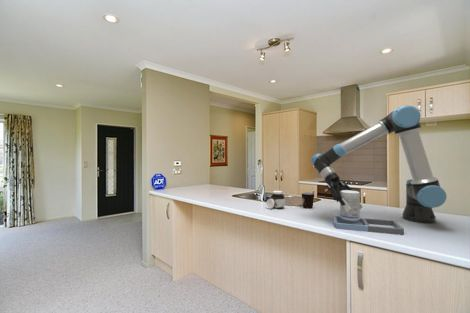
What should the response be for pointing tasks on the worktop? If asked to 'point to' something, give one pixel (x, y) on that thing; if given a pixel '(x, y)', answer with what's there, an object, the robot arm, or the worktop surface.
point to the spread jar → (276, 200)
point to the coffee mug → (307, 200)
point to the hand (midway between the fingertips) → (355, 209)
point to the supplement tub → (353, 202)
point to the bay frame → (366, 227)
